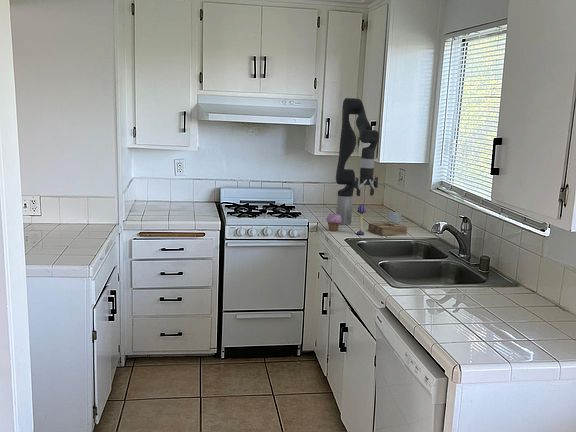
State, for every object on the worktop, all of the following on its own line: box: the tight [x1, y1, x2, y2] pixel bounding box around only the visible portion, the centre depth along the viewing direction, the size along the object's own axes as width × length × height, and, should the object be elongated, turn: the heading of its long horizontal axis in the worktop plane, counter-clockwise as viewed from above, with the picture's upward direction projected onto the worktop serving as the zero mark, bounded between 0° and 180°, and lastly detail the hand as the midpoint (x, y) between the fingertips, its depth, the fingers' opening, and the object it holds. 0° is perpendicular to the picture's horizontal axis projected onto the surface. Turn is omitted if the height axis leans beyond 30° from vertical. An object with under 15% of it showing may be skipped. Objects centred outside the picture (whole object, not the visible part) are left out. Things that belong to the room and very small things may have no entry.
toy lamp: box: [356, 204, 366, 236], centre depth 327 cm, size 5×5×17 cm
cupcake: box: [325, 212, 342, 232], centre depth 336 cm, size 9×9×10 cm
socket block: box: [368, 221, 408, 237], centre depth 336 cm, size 15×16×5 cm
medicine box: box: [387, 211, 403, 225], centre depth 353 cm, size 8×4×9 cm, turn 74°
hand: (364, 195), depth 324 cm, fingers open, 8 cm apart
